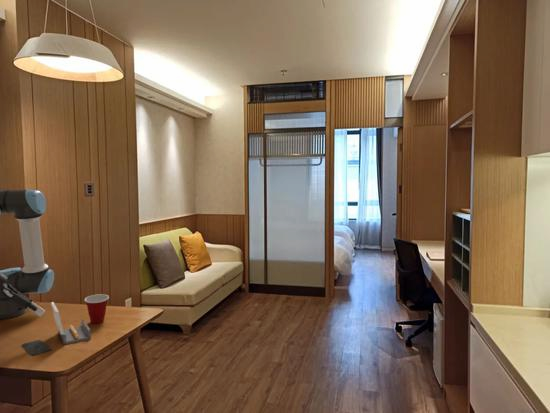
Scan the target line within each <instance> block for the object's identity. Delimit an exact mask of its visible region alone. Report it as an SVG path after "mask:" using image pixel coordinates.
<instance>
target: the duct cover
mask: <svg viewBox="0 0 550 413" xmlns="http://www.w3.org/2000/svg"><path fill="white" fill-rule="evenodd" d="M50 305H51V309H52V313H53V317H54V321H55V325H56V326H57V329H58V332H59V331H60V333H61V335H62V334H64V332H63V330H64V328H63V325H62V319H61V315H60V311H59V309H58V307H57V306H56V304H55V302H54V301H52V302H50Z"/></svg>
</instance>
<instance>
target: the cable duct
mask: <svg viewBox="0 0 550 413" xmlns="http://www.w3.org/2000/svg"><path fill="white" fill-rule="evenodd" d="M80 320H81V322H80V324H81V325H80V326H76V327H74V325H72V324H70V326H69V328H66V329H65V328H63V332H64V334H62V335H61V333H60V331H59V330H58V335H59V337H60V339H61V341H62V343H63V345H69V344H73V343H78V342H83V341H88V340H91V332H92V331H91V328H90V327H89V326H88V324H87V323H86V321H85V320H84V319H80Z"/></svg>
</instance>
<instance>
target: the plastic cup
mask: <svg viewBox="0 0 550 413" xmlns="http://www.w3.org/2000/svg"><path fill="white" fill-rule="evenodd" d="M109 296H110V295H108V294H103V293H100V294H92V295H88V296H86V297H85V298H84V302H85V305H86V307H87V312H88V317H89V320H90V323H91V324H94V325H95V324H100V323H103V322H104V321H105V316H106V311H107V305H108V302H109V301H108V300H109V299H110V297H109Z"/></svg>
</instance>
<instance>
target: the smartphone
mask: <svg viewBox="0 0 550 413" xmlns="http://www.w3.org/2000/svg"><path fill="white" fill-rule="evenodd" d="M21 348H23V350H25V352H26V353H28V354H29V355H30V356H31V357H34V356H37V355H42V354H45V353H48V352H52V351H53V348H52V347H50V346H49V345H48V344H47V343H46V342H44V341H43V340H41V339H38V340H33V341H29V342H25V343H23V344H21ZM51 350H52V351H51Z"/></svg>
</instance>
